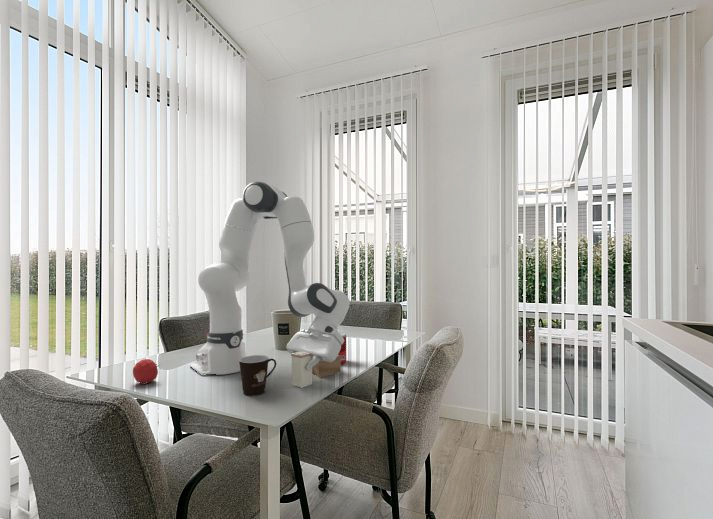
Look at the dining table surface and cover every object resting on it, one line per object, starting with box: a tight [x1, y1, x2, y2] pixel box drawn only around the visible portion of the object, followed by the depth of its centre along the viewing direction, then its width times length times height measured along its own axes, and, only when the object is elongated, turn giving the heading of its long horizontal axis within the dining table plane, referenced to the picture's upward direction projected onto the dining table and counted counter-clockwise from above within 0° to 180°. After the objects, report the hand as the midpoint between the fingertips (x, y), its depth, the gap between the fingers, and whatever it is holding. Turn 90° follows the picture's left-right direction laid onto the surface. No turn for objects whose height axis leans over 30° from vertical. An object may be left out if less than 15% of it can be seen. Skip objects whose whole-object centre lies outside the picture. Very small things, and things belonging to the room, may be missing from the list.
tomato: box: [132, 358, 160, 384], centre depth 118 cm, size 8×8×8 cm
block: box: [312, 355, 342, 378], centre depth 128 cm, size 9×9×6 cm
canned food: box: [338, 332, 347, 365], centre depth 140 cm, size 8×8×11 cm
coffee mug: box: [239, 354, 277, 397], centre depth 109 cm, size 12×9×10 cm
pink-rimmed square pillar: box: [290, 351, 313, 389], centre depth 114 cm, size 5×5×10 cm
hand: (300, 367), depth 114 cm, fingers closed on pink-rimmed square pillar, 4 cm apart
